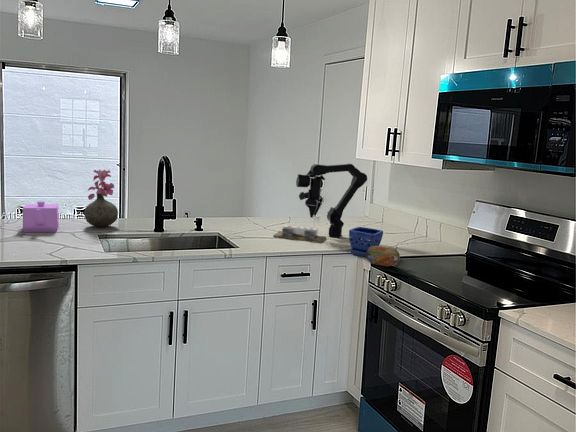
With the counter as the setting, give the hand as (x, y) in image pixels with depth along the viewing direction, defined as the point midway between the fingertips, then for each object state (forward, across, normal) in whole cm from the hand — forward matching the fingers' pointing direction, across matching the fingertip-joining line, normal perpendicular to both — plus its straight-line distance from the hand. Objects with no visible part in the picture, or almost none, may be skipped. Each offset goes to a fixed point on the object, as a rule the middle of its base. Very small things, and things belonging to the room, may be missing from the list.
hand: (313, 216), depth 293 cm
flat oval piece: (+11, +46, +42) cm, 63 cm away
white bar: (+8, +8, -5) cm, 13 cm away
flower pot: (+11, +29, +32) cm, 45 cm away
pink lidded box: (+12, +59, -126) cm, 139 cm away
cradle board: (+11, +8, -5) cm, 14 cm away
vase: (+11, +38, -106) cm, 113 cm away
